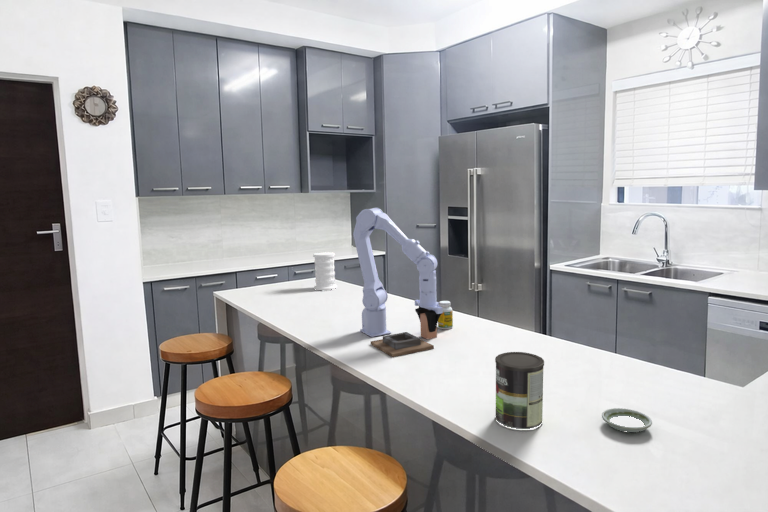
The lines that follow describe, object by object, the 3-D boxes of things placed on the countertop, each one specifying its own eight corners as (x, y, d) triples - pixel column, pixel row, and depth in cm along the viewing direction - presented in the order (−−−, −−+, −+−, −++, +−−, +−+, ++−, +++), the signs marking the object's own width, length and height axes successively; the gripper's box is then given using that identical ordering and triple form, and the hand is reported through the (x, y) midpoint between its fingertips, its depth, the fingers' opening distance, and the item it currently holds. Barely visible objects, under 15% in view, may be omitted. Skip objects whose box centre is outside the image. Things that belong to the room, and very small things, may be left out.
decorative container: (311, 290, 259) (309, 255, 257) (318, 286, 270) (316, 252, 268) (333, 291, 257) (332, 255, 255) (339, 286, 269) (338, 251, 266)
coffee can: (503, 433, 109) (503, 369, 107) (489, 411, 119) (489, 352, 117) (551, 430, 110) (552, 366, 108) (533, 409, 120) (533, 350, 118)
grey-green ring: (636, 416, 115) (637, 406, 115) (661, 438, 105) (661, 427, 105) (593, 418, 115) (593, 408, 114) (614, 440, 105) (614, 428, 105)
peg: (420, 336, 178) (420, 313, 177) (430, 334, 180) (430, 312, 179) (426, 339, 175) (426, 316, 174) (436, 337, 177) (436, 314, 176)
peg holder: (370, 344, 171) (370, 335, 171) (409, 336, 178) (409, 328, 178) (392, 357, 158) (392, 347, 158) (433, 348, 165) (433, 339, 164)
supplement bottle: (446, 324, 192) (445, 299, 190) (455, 328, 187) (455, 302, 186) (434, 327, 189) (434, 301, 187) (444, 330, 184) (444, 304, 183)
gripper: (450, 293, 171) (450, 333, 173) (426, 286, 183) (427, 323, 185) (432, 296, 167) (432, 336, 169) (409, 288, 180) (410, 326, 182)
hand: (428, 330), depth 177 cm, fingers closed on peg, 4 cm apart
